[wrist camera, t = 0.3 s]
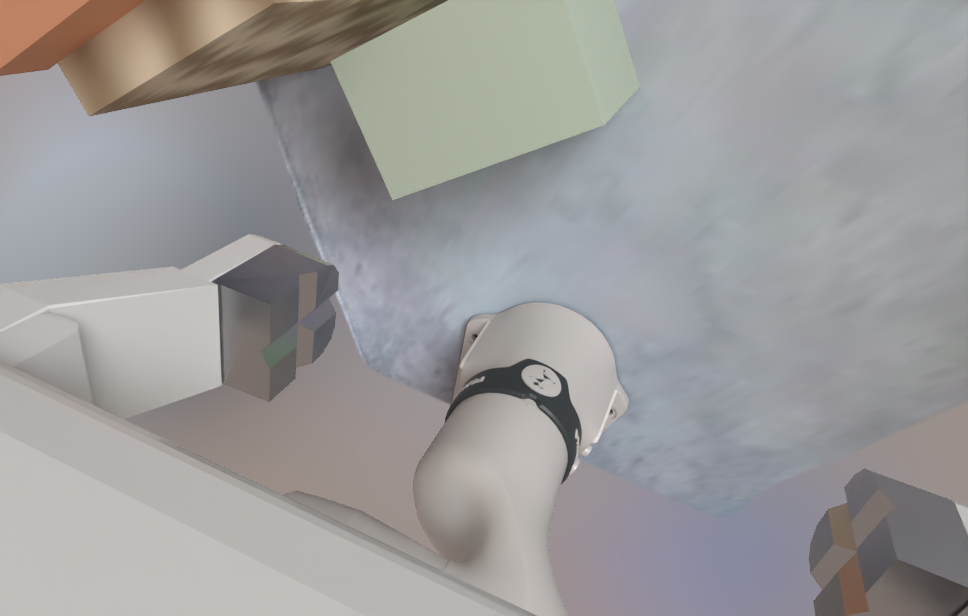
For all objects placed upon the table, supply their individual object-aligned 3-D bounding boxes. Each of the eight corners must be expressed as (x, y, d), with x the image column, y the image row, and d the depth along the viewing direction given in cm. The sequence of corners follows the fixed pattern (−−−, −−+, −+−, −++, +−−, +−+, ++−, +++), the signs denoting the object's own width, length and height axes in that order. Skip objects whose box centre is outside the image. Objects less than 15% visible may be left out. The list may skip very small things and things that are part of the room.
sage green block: (601, -43, 47) (548, -52, 34) (640, 86, 50) (604, 125, 37) (429, 41, 54) (330, 61, 41) (472, 149, 58) (392, 200, 44)
